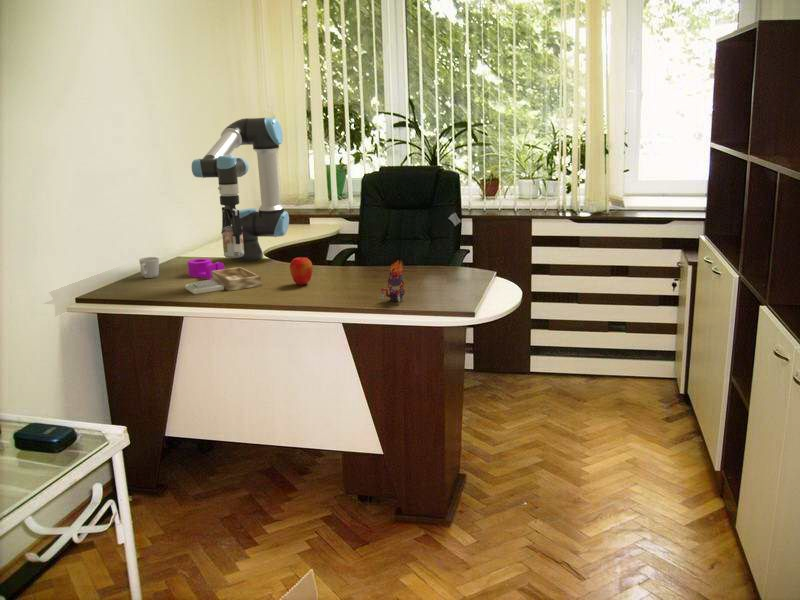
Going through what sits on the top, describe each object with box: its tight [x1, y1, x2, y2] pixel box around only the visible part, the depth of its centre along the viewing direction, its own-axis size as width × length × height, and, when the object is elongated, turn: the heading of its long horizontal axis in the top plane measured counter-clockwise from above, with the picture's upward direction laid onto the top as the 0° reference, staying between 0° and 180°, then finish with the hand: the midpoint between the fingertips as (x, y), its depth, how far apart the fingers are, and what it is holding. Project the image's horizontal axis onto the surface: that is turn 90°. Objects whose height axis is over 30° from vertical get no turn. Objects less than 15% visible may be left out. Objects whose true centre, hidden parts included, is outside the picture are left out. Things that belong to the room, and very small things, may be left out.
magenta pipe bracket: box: [187, 258, 226, 280], centre depth 339 cm, size 16×10×6 cm, turn 53°
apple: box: [289, 255, 314, 286], centre depth 317 cm, size 9×9×12 cm
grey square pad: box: [190, 279, 217, 289], centre depth 315 cm, size 8×8×1 cm
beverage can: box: [220, 225, 244, 259], centre depth 319 cm, size 9×8×12 cm
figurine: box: [378, 259, 406, 302], centre depth 287 cm, size 8×9×15 cm
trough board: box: [210, 266, 263, 292], centre depth 323 cm, size 14×22×4 cm, turn 31°
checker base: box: [184, 281, 225, 295], centre depth 315 cm, size 12×12×2 cm
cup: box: [139, 256, 160, 279], centre depth 337 cm, size 11×8×8 cm
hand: (233, 249), depth 320 cm, fingers closed on beverage can, 9 cm apart
